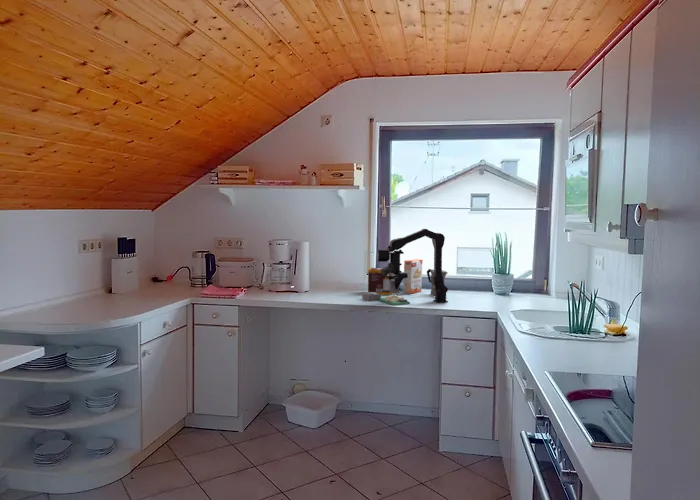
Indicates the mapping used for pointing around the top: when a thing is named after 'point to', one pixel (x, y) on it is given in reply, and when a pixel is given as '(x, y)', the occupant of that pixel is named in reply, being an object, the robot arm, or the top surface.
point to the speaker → (371, 296)
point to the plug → (393, 287)
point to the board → (394, 300)
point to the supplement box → (378, 282)
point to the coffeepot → (430, 280)
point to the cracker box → (413, 276)
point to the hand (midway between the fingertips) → (394, 288)
